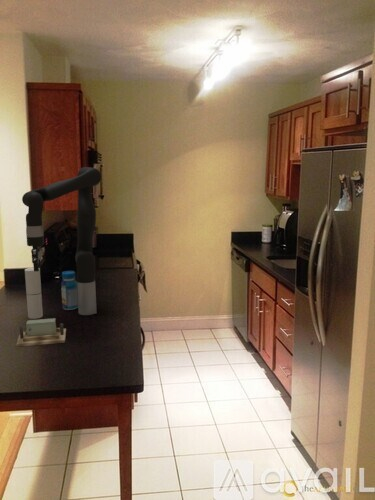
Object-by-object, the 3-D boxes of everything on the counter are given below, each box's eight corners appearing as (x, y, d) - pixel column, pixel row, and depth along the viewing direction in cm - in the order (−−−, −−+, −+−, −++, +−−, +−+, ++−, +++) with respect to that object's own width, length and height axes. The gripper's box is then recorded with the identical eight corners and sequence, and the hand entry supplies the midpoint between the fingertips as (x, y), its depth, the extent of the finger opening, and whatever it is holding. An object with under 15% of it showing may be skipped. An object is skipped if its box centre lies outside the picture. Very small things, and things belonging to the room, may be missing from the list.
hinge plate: (66, 330, 205) (65, 318, 204) (64, 342, 192) (64, 329, 191) (20, 334, 201) (19, 321, 199) (16, 346, 187) (15, 333, 186)
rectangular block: (56, 332, 200) (55, 318, 198) (55, 337, 194) (54, 322, 193) (28, 335, 197) (27, 320, 196) (27, 340, 191) (25, 324, 190)
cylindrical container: (27, 319, 220) (24, 271, 215) (28, 314, 227) (25, 267, 222) (42, 318, 222) (39, 270, 217) (43, 313, 229) (40, 267, 224)
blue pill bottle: (74, 310, 233) (72, 274, 229) (59, 309, 235) (57, 273, 231) (80, 306, 241) (79, 270, 237) (66, 305, 243) (64, 270, 239)
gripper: (42, 237, 197) (44, 272, 201) (44, 232, 211) (46, 265, 214) (24, 238, 196) (27, 273, 199) (28, 233, 209) (30, 266, 213)
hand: (37, 269), depth 207 cm, fingers open, 8 cm apart
